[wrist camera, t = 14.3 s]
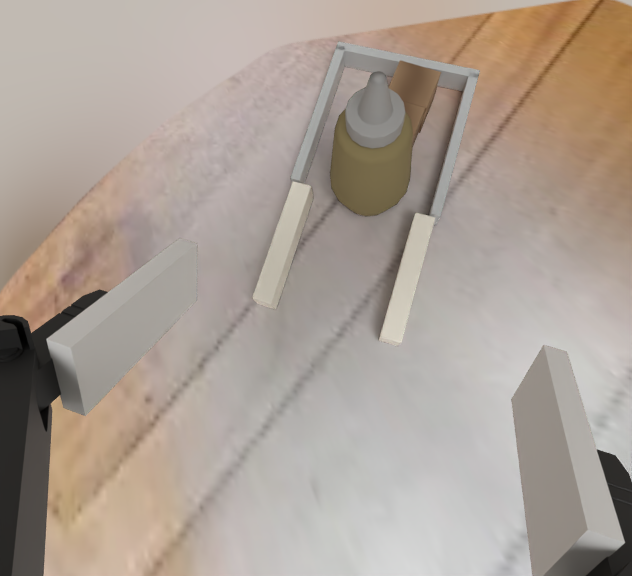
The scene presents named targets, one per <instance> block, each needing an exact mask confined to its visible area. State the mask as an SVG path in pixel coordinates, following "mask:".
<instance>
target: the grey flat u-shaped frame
mask: <svg viewBox="0 0 632 576" xmlns="http://www.w3.org/2000/svg"><path fill="white" fill-rule="evenodd" d="M400 60H401V61H405V62H408V63H412V64H415V65H419V66H422V67H425V68H429V69H432V70H436V71H439V72H441V74H440V78H439V81H438V85H437V86H439V87H444V88H449V89H453V90H458V91H463V93H462V96H461V100H460V104H459V107H458V111H457V114H456V118H455V122H454V125H453V129H452V133H451V136H450V140H449V143H448V147H447V151H446V154H445V158H444V162H443V165H442V169H441V172H440V176H439V180H438V183H437V187H436V191H435V194H434V198H433V201H432V205H431V209H430V212H429V216H431V217H435V221H434V224H433V225H436V224H437V222H438V220H439V218H440V216H441V213H442V209H443V205H444V202H445V198H446V194H447V191H448V187H449V183H450V179H451V176H452V172H453V168H454V165H455V161H456V157H457V154H458V150H459V146H460V142H461V139H462V135H463V131H464V128H465V124H466V120H467V116H468V113H469V109H470V105H471V102H472V98H473V94H474V91H475V87H476V83H477V79H478V76H479V72H480V70H476V69H471V68H466V67H461V66H456V65H451V64H447V63H442V62H437V61H432V60H427V59H422V58H417V57H412V56H407V55H402V54H398V53H393V52H388V51H383V50H378V49H373V48H368V47H363V46H358V45H353V44H349V43H344V42H339V41H338V44H337V47H336V49H335V52H334V55H333V58H332V61H331V64H330V67H329V69H328V72H327V75H326V78H325V81H324V84H323V87H322V89H321V92H320V95H319V98H318V101H317V104H316V107H315V109H314V112H313V115H312V118H311V121H310V124H309V127H308V129H307V132H306V135H305V138H304V141H303V144H302V147H301V149H300V152H299V155H298V158H297V161H296V164H295V167H294V169H293V172H292V175H291V182H293V181H294V182H298V183H302V184H305V181H306V178H307V175H308V172H309V169H310V166H311V163H312V160H313V157H314V154H315V151H316V148H317V146H318V143H319V140H320V137H321V134H322V131H323V128H324V125H325V122H326V119H327V116H328V113H329V111H330V108H331V105H332V102H333V99H334V96H335V93H336V90H337V87H338V84H339V81H340V78H341V75H342V73H343V70H344V67H350V68H354V69H359V70H364V71H368V72H373V73H374V72H377V71H380V72H383V73H384V74H385V75H387V76H392V77H393V75H394V73H395V71H396V68H397V66H398V64H399V61H400Z"/></svg>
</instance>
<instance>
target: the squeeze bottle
mask: <svg viewBox="0 0 632 576" xmlns="http://www.w3.org/2000/svg"><path fill="white" fill-rule="evenodd" d="M412 141H413V129H412V123H411V119H410V117H409V116H408V114H407V113H406V111H405V107H404V102H403V101H402V99H401V98H400V96H399V95H398V94H397V93H395V92H394V91H392V90H391V89H389V88H388V83H387V78H386V75H385V74H384V73H383V72H380V71H377V72H374V73H372V74H371V75H370V78H369V81H368V83H367V86H366V87H365V88H363V89H361V90H360V91H358V92H356V93H355V94H354V95H353V96H352V97H351V98H350V100H349V101H348V104H347V107H346V109H345V110H344V111H343V112H342V113H341V114H340V115H339V118H338V121H337V124H336V127H335V132H334V141H333V150H332V160H331V169H330V179H331V188H332V190H333V192H334V193H335V195H336V197H337V198H338V200H339V201H340V202H341V203H342V204H344V205H345V206H346V207H347V208H349V209H350V210H351V211H353V212H354V213H356V214H359V215H363V216H374V215H378V214H380V213H382V212H384V211H386V210H387V209H389V208H391V207H393V206H394V205H396V204H397V203H398V202H399V201H400V199H401V198H402V197H403V196H404V195H405V193H406V191H407V188H408V184H409V181H410V172H411V156H412Z"/></svg>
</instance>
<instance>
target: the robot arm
mask: <svg viewBox="0 0 632 576" xmlns="http://www.w3.org/2000/svg"><path fill="white" fill-rule="evenodd" d="M196 301H197V243H195V242H191V241H188V240H185V239H181V238H179V239H178V240H177V241H175V242H174V243H173V244H171V245H170V246H169V247H167V248H166V249H165V250H163V251H162V252H161V253H159V254H158V255H157V256H155V257H154V258H153V259H151V260H150V261H149V262H147V263H146V264H145V265H143V266H142V267H141V268H140V269H138V270H137V271H136V272H134V273H133V274H132V275H130V276H129V277H128V278H126V279H125V280H124V281H122V282H121V283H120V284H118V285H117V286H116V287H114V288H113V289H112V290H110V291H109V292H106V291H102V290H97V291H95V292H92V293H89V294H87V295H84V296H82V297H81V298H80V299H78V300H77V301H76V302H74V303H73V304H71V307H70V306H69V307H67V308H66V309H64V310H63V311H62V312H61V314H60V313H59V314H57V315H56V316H55V317H53V318H52V319H50V320H49V321H48V322H46V323H45V324H43V325H42V326H41V327H39V328H38V329H36V330H35V331H34V332H32V333H31V331H30V328H29V324H28V321H27V320H25V319H24V318H23V317H19V316H15V315H3V316H0V576H43V574H44V555H45V537H46V518H47V500H48V481H49V463H50V444H51V425H52V407H51V403H52V402H53V401H54V400H55V399H56V398H57V397H58V396H59V395H60V396H61V400H62V404H63V408H65V409H68V410H71V411H73V412H76V413H79V414H81V415H84V416H86V415H87V414H88V413H89V412H90V411H91V410H92V409H93V408H94V407H95V406H96V405H97V404H98V403H99V401H100V400H101V399H102V398H103V397H104V396H105V395H106V394H107V393H108V392H109V391H110V390H111V389H112V388H113V387H114V386H115V385H116V384H117V383H118V382H119V381H120V380H121V379H122V378H123V377H124V376H125V375H126V373H127V372H128V371H129V370H130V369H131V368H132V367H133V366H134V365H135V364H136V363H137V362H138V361H139V360H140V359H141V358H142V357H143V356H144V355H145V354H146V353H147V352H148V351H149V350H150V349H151V348H152V347H153V345H154V344H155V343H156V342H157V341H158V340H159V339H160V338H161V337H162V336H163V335H164V334H165V333H166V332H167V331H168V330H169V329H170V328H171V327H172V326H173V325H174V324H175V323H176V322H177V321H178V320H179V319H180V317H181V316H182V315H183V314H184V313H185V312H186V311H187V310H188V309H189V308H190V307H191V306H192V305H193V304H194V303H195V302H196ZM511 400H512V408H513V417H514V425H515V433H516V442H517V450H518V458H519V467H520V475H521V484H522V492H523V500H524V509H525V517H526V525H527V534H528V542H529V550H530V559H531V567H532V575H533V576H632V482H631V479H630V476H629V473H628V472H627V471H626V469H625V468H624V467H623V465H622V464H621V462H620V461H619V460H618V458H617V457H616V456H615V455H612V454H609V453H606V452H603V451H600V450H597V449H596V446H595V443H594V439H593V436H592V433H591V429H590V426H589V423H588V420H587V416H586V413H585V410H584V406H583V403H582V400H581V397H580V393H579V390H578V387H577V383H576V380H575V377H574V374H573V370H572V367H571V364H570V360H569V357H568V354H567V352H566V351H563V350H560V349H556V348H553V347H549V346H546V345H543V347H542V349H541V350H540V352H539V354H538V355H537V357H536V359H535V360H534V362H533V364H532V365H531V367H530V369H529V370H528V372H527V374H526V375H525V377H524V379H523V381H522V382H521V384H520V386H519V387H518V389H517V391H516V392H515V394H514V396H513V397H512V399H511Z"/></svg>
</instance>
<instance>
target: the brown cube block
mask: <svg viewBox="0 0 632 576" xmlns="http://www.w3.org/2000/svg"><path fill="white" fill-rule="evenodd" d="M440 74H441V72H439V71H436V70H432V69H429V68H425V67H422V66H419V65H415V64H412V63H408V62H405V61H401V60H400V61H399V64H398V66H397V68H396V71H395V73H394V75H393V78H392V80H391V82H390V85H389V87H388V88H389V89H391V90H392V91H394V92H395V93H397V94H398V95H399V96H400V98H401V99H402V101H405V102H408V103H411V104H414V105H418V106H421V107H424V108H425V110H424V114H423V117H422V121H421V125H420V129H419V133H420V131H421V129H422V126H423V124H424V121H425V119H426V116H427V114H428V111H429V109H430V106H431V104H432V101H433V99H434V95H435V92H436V88H437V85H438V81H439V78H440Z"/></svg>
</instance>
